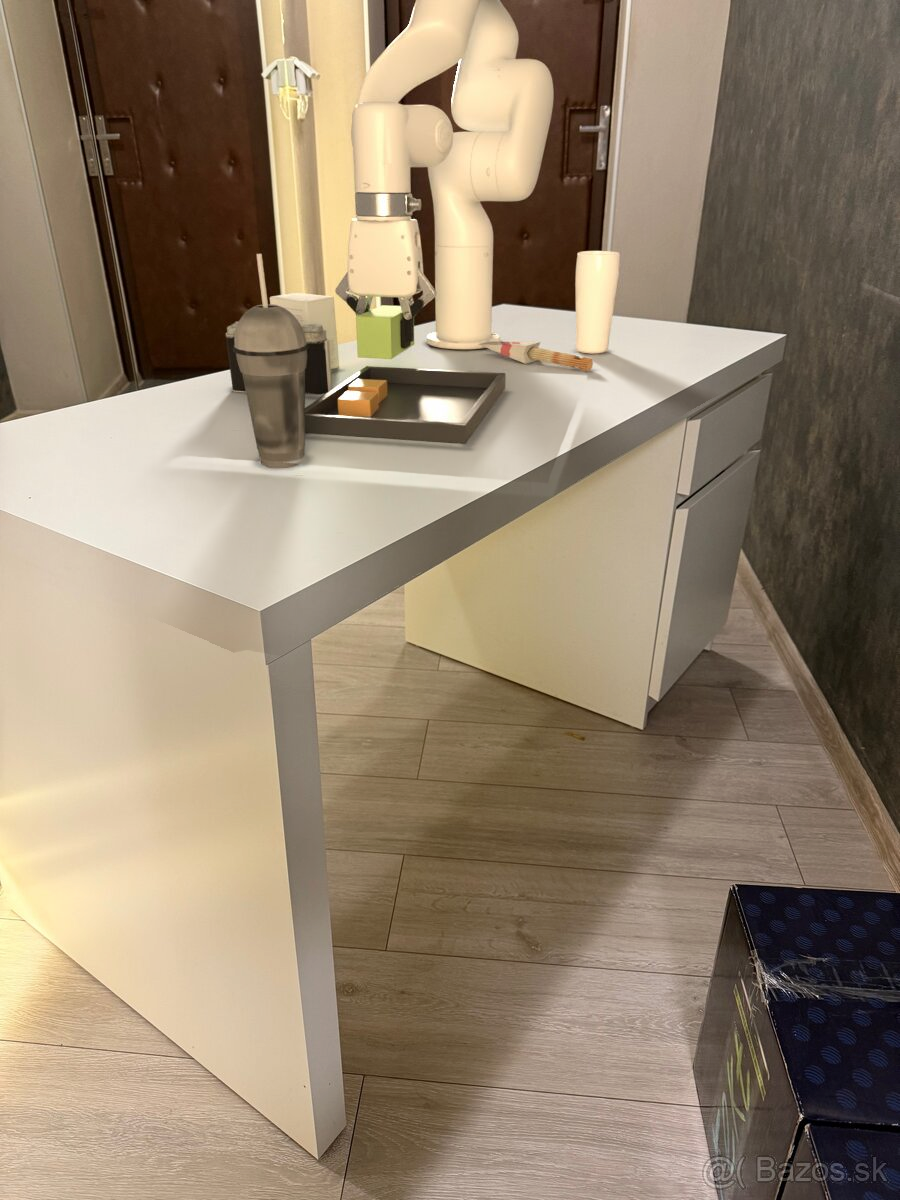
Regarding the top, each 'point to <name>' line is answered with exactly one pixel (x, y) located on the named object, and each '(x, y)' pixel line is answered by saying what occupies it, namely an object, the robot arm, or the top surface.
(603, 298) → the drinking glass
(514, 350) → the paintbrush
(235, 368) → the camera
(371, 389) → the block
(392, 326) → the sponge
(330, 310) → the small box
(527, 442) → the top surface
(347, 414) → the block
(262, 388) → the beverage cup
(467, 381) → the pan
